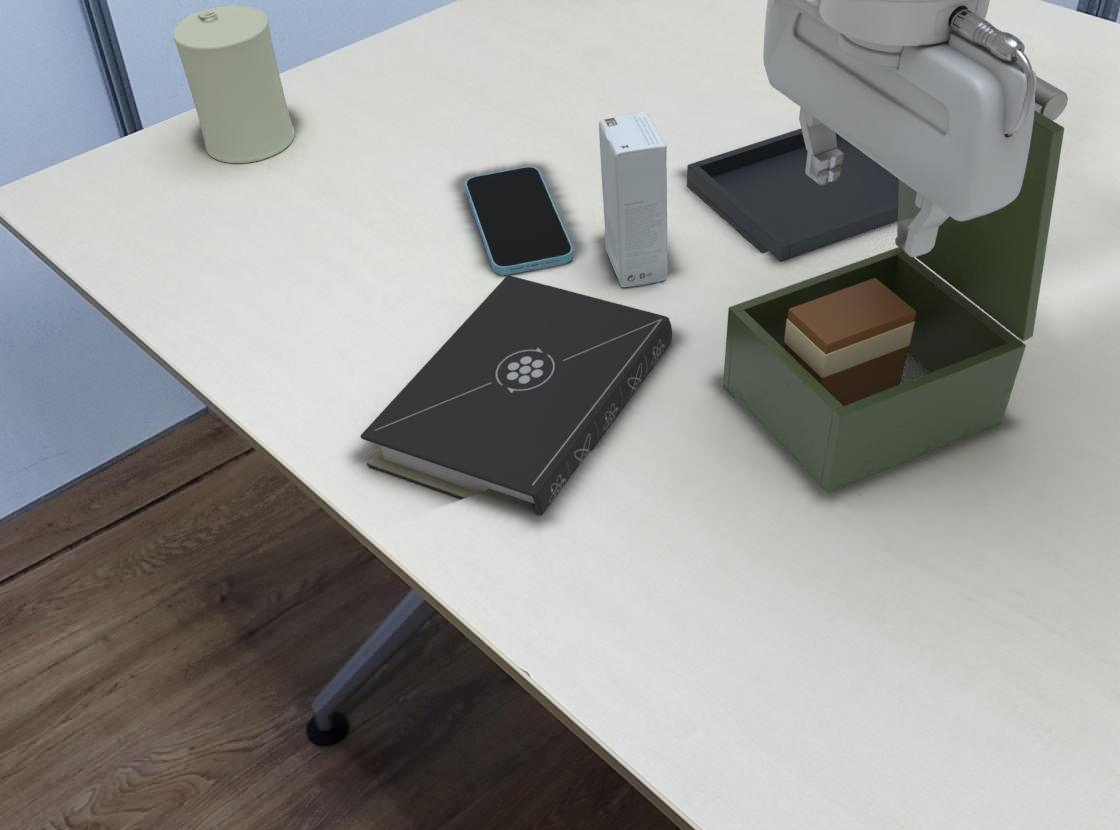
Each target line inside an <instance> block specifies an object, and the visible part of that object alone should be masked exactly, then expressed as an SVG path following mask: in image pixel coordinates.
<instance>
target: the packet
mask: <svg viewBox="0 0 1120 830" xmlns="http://www.w3.org/2000/svg"><path fill="white" fill-rule="evenodd" d="M915 315H916V311H915V310H914V309H913V308H911V307H910V306H909V305H908V304H907V303H905V302H904V301H903V300H902V299H900V298H899V297H898V296H897V295H896V294H894V293H893V292H892V291H891V290H890V289H888V288H887V287H886V286H885V285H884V284H882V283H881V282H880V281H879V280H878V279H876V278H874V279H871V280H868V281H865V282H862V283H860V284H857V285H854V286H851V287H849V288H846V289H843V290H840V291H837V292H835V293H832V294H829V295H826V296H824V297H821V298H818V299H815V300H812V301H810V302H807V303H804V304H801V305H799V306H796V307H793V308H790V309H789V312H788V319H787V322H786V330H785V339H784V342H785V345H784V349H785V350H786V351H787V352H788V353H789V354H790V355H791V356H792V357H793V358H794V359H795V360H796V361H797V362H798V363H799V364H800V365H801V366H802V367H803V368H805V369H806V370H807V371H808V372H809V373H810V374H811V375H812V376H813V377H814V378H815V379H816V380H817V381H818V382H819V383H820V384H821V385H822V386H823V387H824V388H825V389H826V390H827V391H828V392H829V393H830V394H831V395H832V396H834V397H835V398H836V399H837V400H838V401H839V402H840V403H841V404H842V405H843V407H844V406H846V405H849V404H851V403H854V402H856V401H859V400H862V399H864V398H867V397H869V396H872V395H875V394H877V393H880V392H882V391H885V390H888V389H890V388H893V387H895V386H898V385H901V384H902V379H903V374H904V369H905V366H906V365H905V364H906V361H907V356H908V355H907V354H908V347H909V345H910V341H911V337H912V332H913V328H914V323H915V322H914V319H915Z"/></svg>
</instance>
